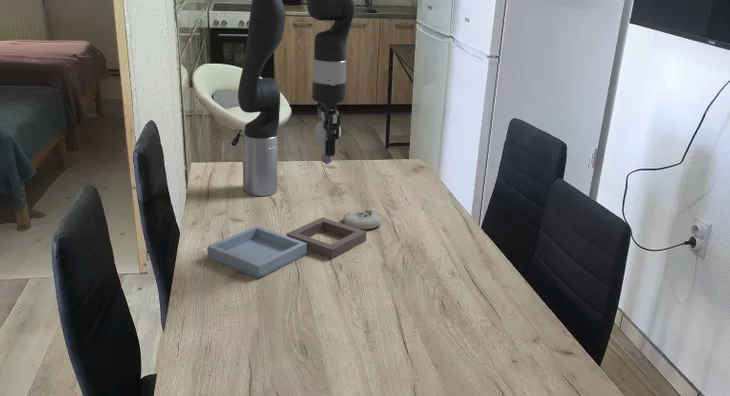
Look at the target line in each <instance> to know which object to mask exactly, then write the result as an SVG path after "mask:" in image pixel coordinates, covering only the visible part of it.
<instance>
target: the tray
mask: <svg viewBox="0 0 730 396" xmlns="http://www.w3.org/2000/svg"><path fill="white" fill-rule="evenodd" d="M206 248H207V258H208V259H209V260H212V261H214V262H217V263H219V264H222V265H223V266H227V267H229V268H231V269H233V270H236V271H238V272H241V273H243V274H246V275H248V276H251V277H253V278H255V279H258V280H260V279H262V278H264V277H266V276H268V275H270V274H272V273H274V272H276V271H278V270H280V269H282V268H283V267H286V266H288V265H290V264H292V263H294V262H295V261H297V260H299V259H302V258H304V257H306V256H307V252H308V251H307V243H305V242H302V241H299V240H296V239H293V238H290V237H288V236H287V235H284V234H282V233H279V232H275V231H273V230H270V229H268V228H265V227H262V226H258V225H255V226H252V227H249V228H248V229H245V230H243V231H241V232H238V233H236V234H233V235H231V236H228V237H227V238H223V239H221V240H219V241H217V242H214V243H211V244H210V245H207V247H206Z"/></svg>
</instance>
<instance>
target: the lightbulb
mask: <svg viewBox="0 0 730 396" xmlns="http://www.w3.org/2000/svg"><path fill="white" fill-rule="evenodd" d="M326 126H328V124H326ZM331 134H334V130H332V131H331ZM341 135H342V129H341V127H340V128H339V138H340V137H341ZM314 136H315V137H316V140H317V142H318V144H319V145H320V146H319V148H320V149H319V150H320V154H321V162H322V163H324V165H329V164H330V163H332V162H333V157H334V156H326V155H325V140H326V139H325V130H323V127H322V120H320V121H319V122H318V123H317V122H316V125H315V127H314ZM338 141H339V139H338V140H335V146H336V145H337V142H338Z"/></svg>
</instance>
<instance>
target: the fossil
mask: <svg viewBox="0 0 730 396" xmlns="http://www.w3.org/2000/svg"><path fill="white" fill-rule="evenodd" d="M342 221H343V224H345V225H348V226H351V227H354V228H357V229H360V230H363V231H366V230H372V229H375V228H376V227H379V226H380V225H381V224H382V222H383V216H382V214H381V212H379V210H377V209H376V208H373V207H368V208H367V209H366V210H364V211H348V212H346V213H345V214H344V216H343V218H342Z"/></svg>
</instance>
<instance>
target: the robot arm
mask: <svg viewBox="0 0 730 396" xmlns="http://www.w3.org/2000/svg"><path fill="white" fill-rule="evenodd" d="M306 8H307V12H308V14H309V16H310V17H311V18H313V19H314V20H317V21H323V22H326V21H329V22H330V21H333V23H332V26H331V27H330V28H329V29H327V30H323V31H320V32H318V33H316V35H315V36H314V52H313V54H314V55H313V67H312V86H311V87H312V88H311V89H312V92H311V93H312V95H311V98H312V100H313V101H315V102H316V106H317V108H316V109H317V111H316V114H317V117H316V119H317V122H316V124H317V123H318V122H319V121H320V120H322V127H323V130H325V139H326V140H325V155H326V156H333V157H335V156H336V155H335V154H336V145H335V140H338V141H339V139H340V137H339V128H341V118H342V117H341V115H340V114H339V110H338V108H337V104H339V103H343V102H345V100H346V88H347V82H346V81H347V65H346V63H347V62H346V60H347V58H346V57H347V56H346V55H347V40H348V38H349V33H350V30H351V26H352V22H353V20H354V17H355V13H356V11H357V10H356V9H357V0H306ZM249 12H250V13H249V21H248V30H247V41H246V46H245V47H246V48H245V53H244V54H245V55H244V60H243V66H242V70H241V74H240V79H239V84H238V90H237V101H238V104H239V108H240V109H241V110H242V111H243V112H245V113H249V114H252V113H259V114H258V115H257V116H256V117H255V118H254V119H253V120H250V121H249V122H247V123H246V124H245V126H244V158H243V159H242V189H243V191H245V193H246V194H248V195H250V196H260V197H266V196H271V195H274V194H276V193H277V192H278V129H279V126H280V112H281V111H280V110H281V91H280V86H279V84H278V82H277V81H276V79H274V78H272V77H264V78H263V77H262V78H260V77H261V74H262V72H263V68H264V67H265V64H266V63H267V62H268V60H269V59H270V58H271V56H272V55H273V54H274V52H275V51H276V50H277V49H278V47H279V45H280V44H281V42H282V41H283V40H282V39H283V37H284V32H285V31H284V30H285V24H286V15H287V14H286V8H285V6H284V3H283V1H282V0H251V5H250V11H249ZM326 124H328V126H326ZM332 130H334V134H331V131H332ZM319 147H320V144H319Z"/></svg>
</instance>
